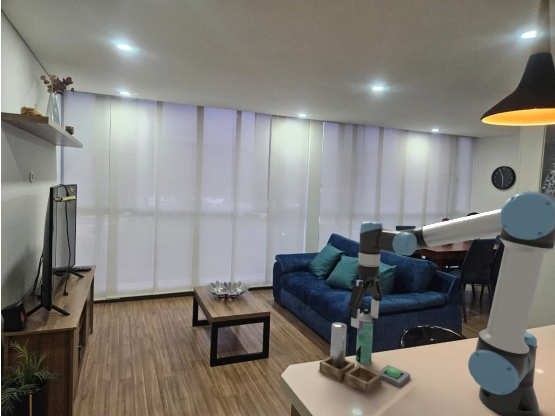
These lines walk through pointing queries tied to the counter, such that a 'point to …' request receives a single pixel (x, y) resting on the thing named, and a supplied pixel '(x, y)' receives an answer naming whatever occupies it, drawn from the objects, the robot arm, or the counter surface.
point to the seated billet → (338, 345)
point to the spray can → (364, 337)
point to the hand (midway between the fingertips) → (364, 321)
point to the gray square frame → (397, 382)
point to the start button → (393, 372)
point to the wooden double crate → (352, 376)
